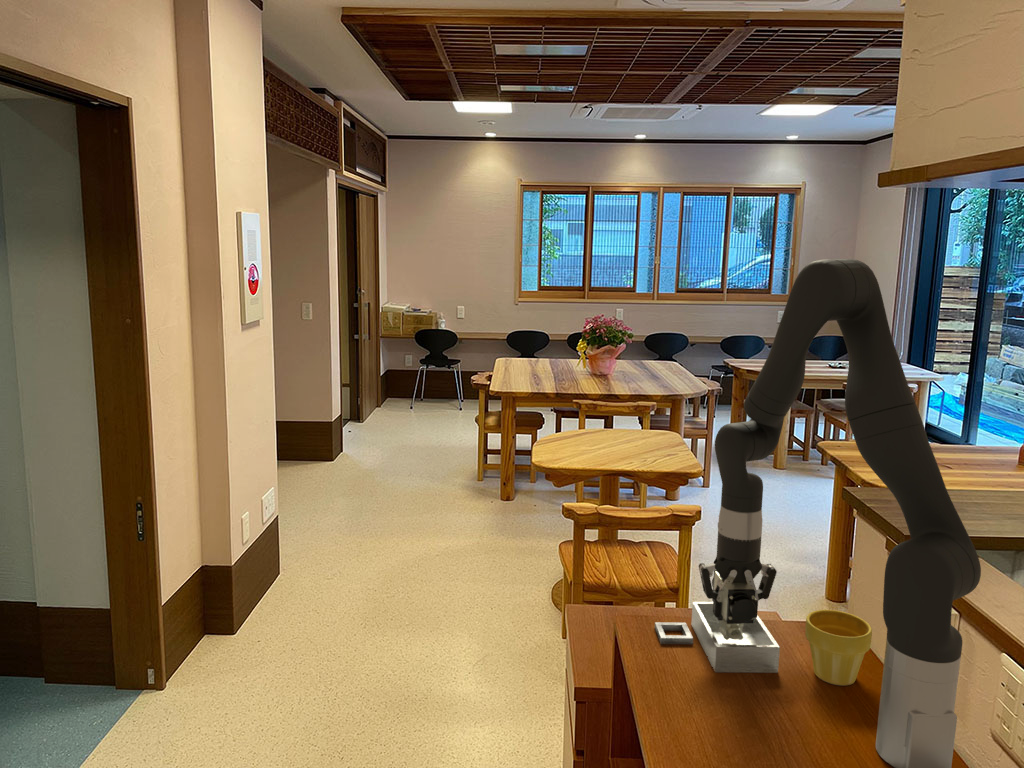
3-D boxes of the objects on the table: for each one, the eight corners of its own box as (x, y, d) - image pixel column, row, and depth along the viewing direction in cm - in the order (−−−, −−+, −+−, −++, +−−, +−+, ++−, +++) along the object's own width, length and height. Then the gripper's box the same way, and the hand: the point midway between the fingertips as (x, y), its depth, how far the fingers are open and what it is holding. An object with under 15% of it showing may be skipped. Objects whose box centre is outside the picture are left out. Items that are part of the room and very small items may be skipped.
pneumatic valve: (728, 652, 129) (732, 588, 127) (708, 620, 141) (711, 561, 139) (759, 652, 130) (763, 588, 128) (737, 620, 141) (740, 561, 139)
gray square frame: (692, 644, 137) (693, 638, 137) (660, 644, 137) (661, 638, 136) (685, 628, 143) (685, 622, 142) (654, 628, 143) (654, 622, 142)
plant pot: (801, 654, 133) (805, 604, 132) (863, 665, 130) (868, 614, 128) (802, 684, 124) (807, 631, 122) (870, 697, 120) (875, 642, 119)
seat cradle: (777, 672, 127) (779, 647, 127) (714, 672, 127) (716, 646, 127) (747, 625, 144) (748, 602, 143) (691, 624, 144) (692, 601, 143)
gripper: (705, 538, 128) (700, 628, 131) (787, 538, 128) (780, 629, 131) (694, 523, 136) (690, 609, 138) (772, 523, 136) (766, 609, 138)
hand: (734, 618), depth 135 cm, fingers closed on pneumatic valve, 5 cm apart
